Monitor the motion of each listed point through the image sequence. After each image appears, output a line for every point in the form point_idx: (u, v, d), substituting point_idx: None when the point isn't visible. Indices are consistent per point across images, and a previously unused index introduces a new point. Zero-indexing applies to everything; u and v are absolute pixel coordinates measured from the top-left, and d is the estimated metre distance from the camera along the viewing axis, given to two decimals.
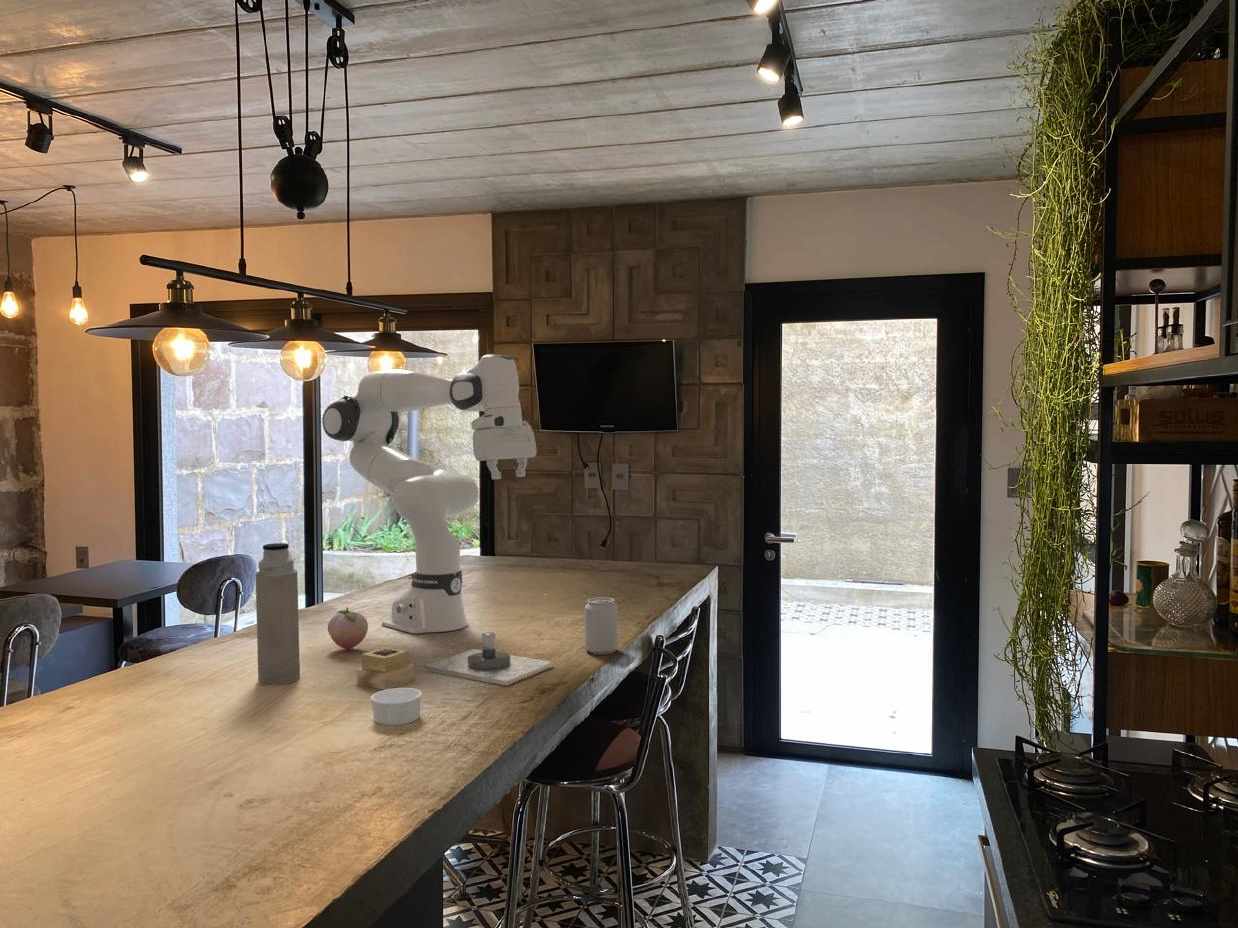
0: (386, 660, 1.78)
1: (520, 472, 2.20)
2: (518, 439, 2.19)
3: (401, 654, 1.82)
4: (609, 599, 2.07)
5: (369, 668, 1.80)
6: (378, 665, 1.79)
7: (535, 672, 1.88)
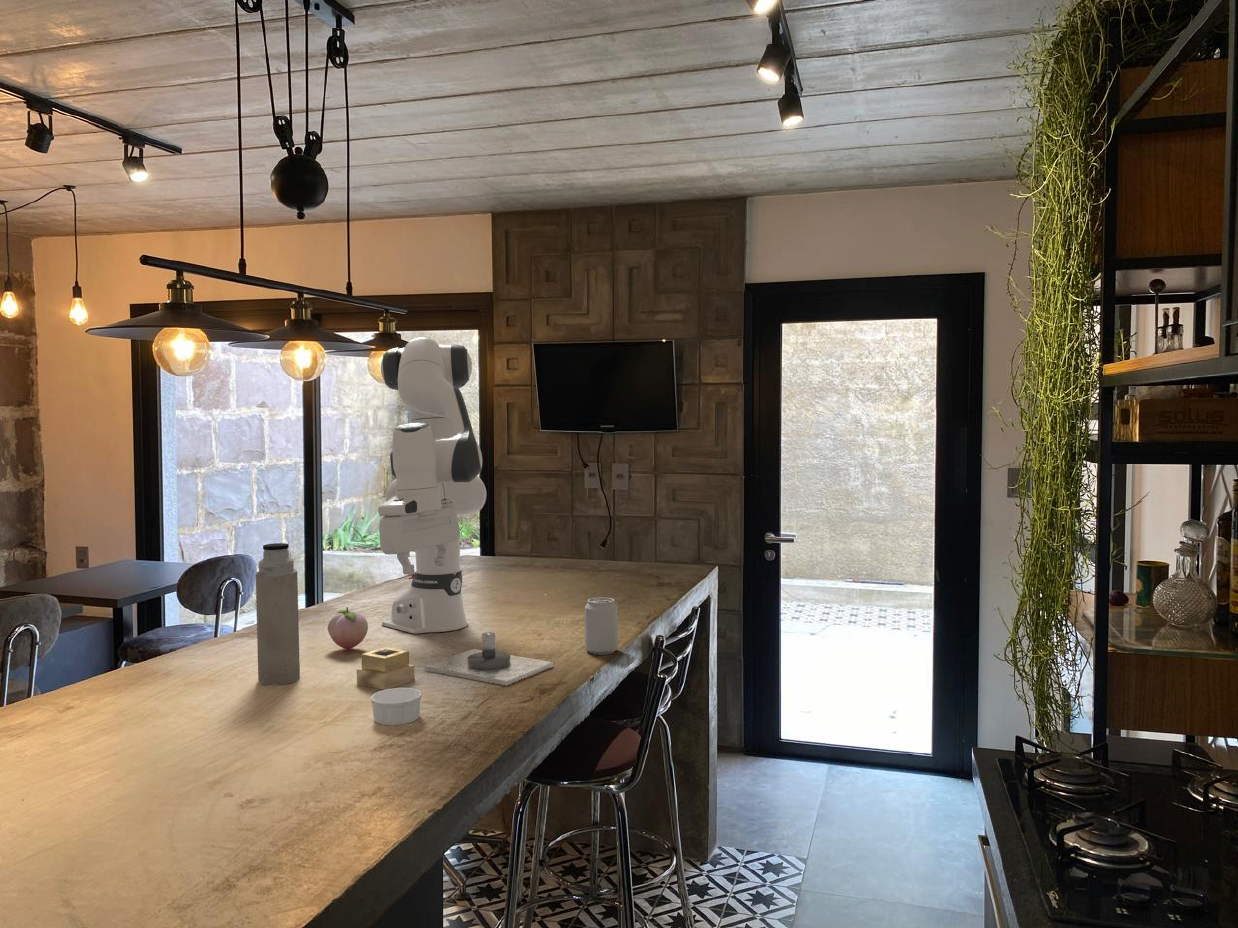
0: (386, 660, 1.78)
1: (439, 561, 1.87)
2: (437, 523, 1.85)
3: (401, 654, 1.82)
4: (609, 599, 2.07)
5: (369, 668, 1.80)
6: (378, 665, 1.79)
7: (535, 672, 1.88)
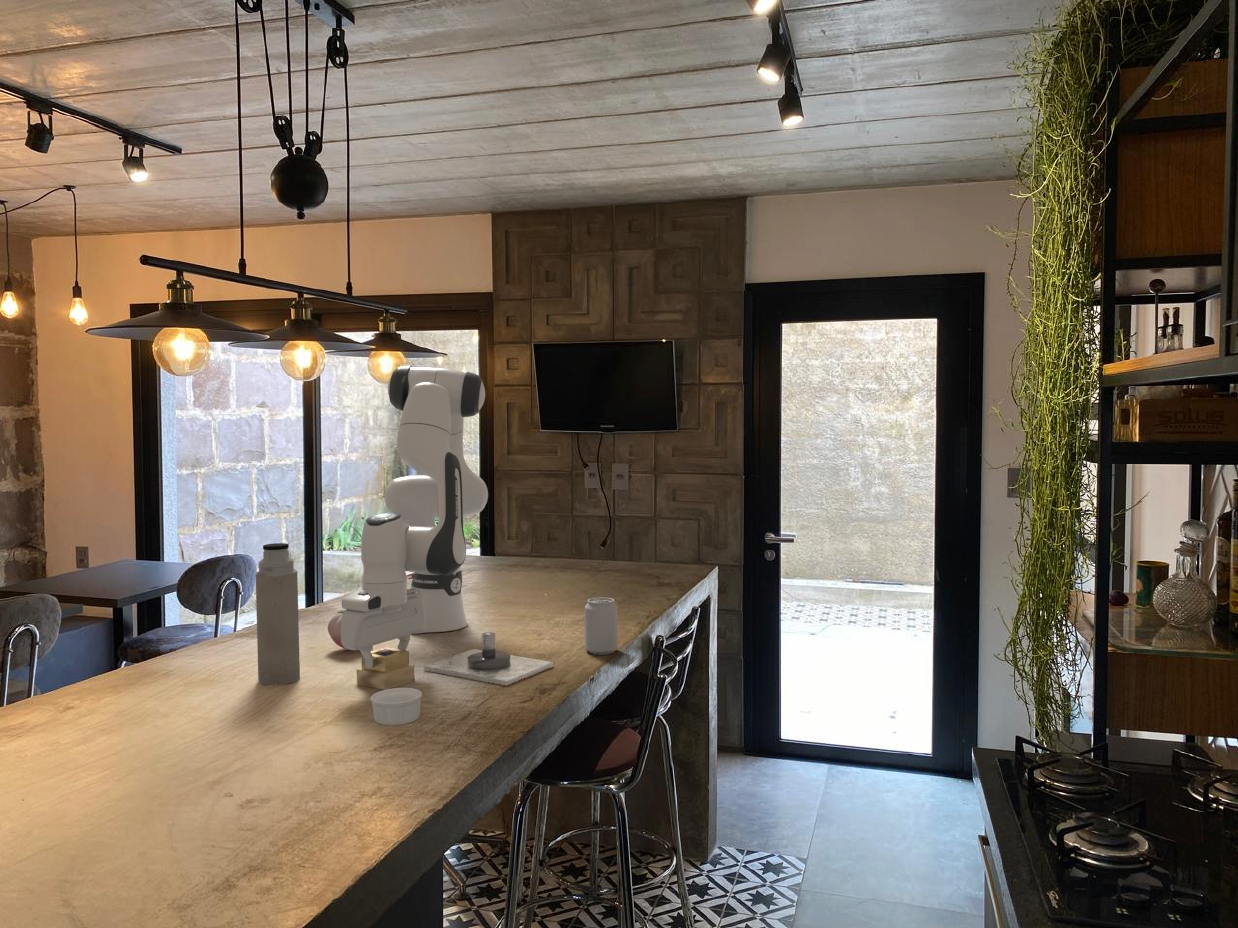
0: (386, 660, 1.78)
1: None
2: (402, 615, 1.84)
3: (401, 654, 1.82)
4: (609, 599, 2.07)
5: (369, 668, 1.80)
6: (378, 665, 1.79)
7: (535, 672, 1.88)
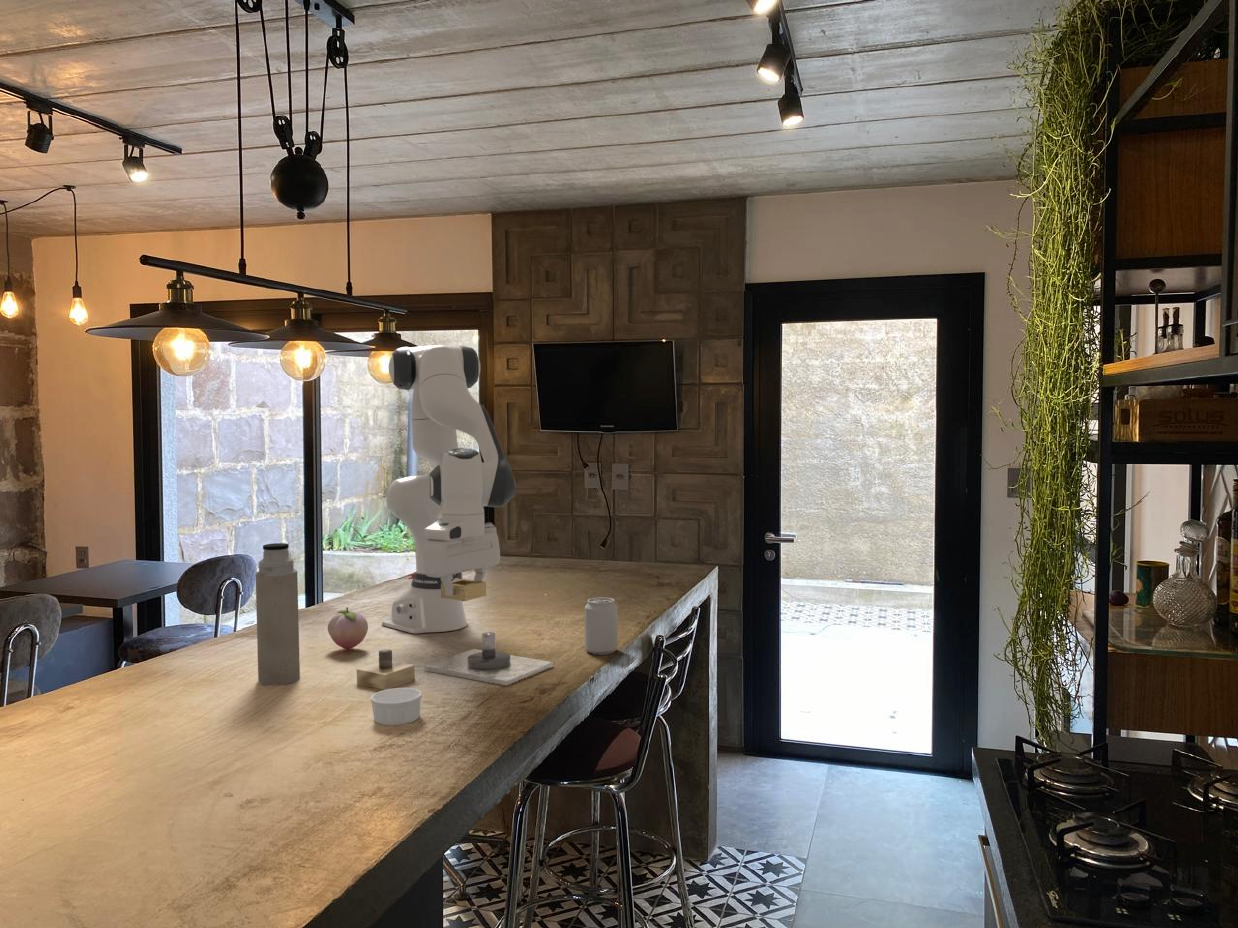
0: (465, 588, 1.84)
1: None
2: (479, 547, 1.90)
3: (479, 584, 1.88)
4: (609, 599, 2.07)
5: (448, 597, 1.87)
6: (457, 593, 1.85)
7: (535, 672, 1.88)
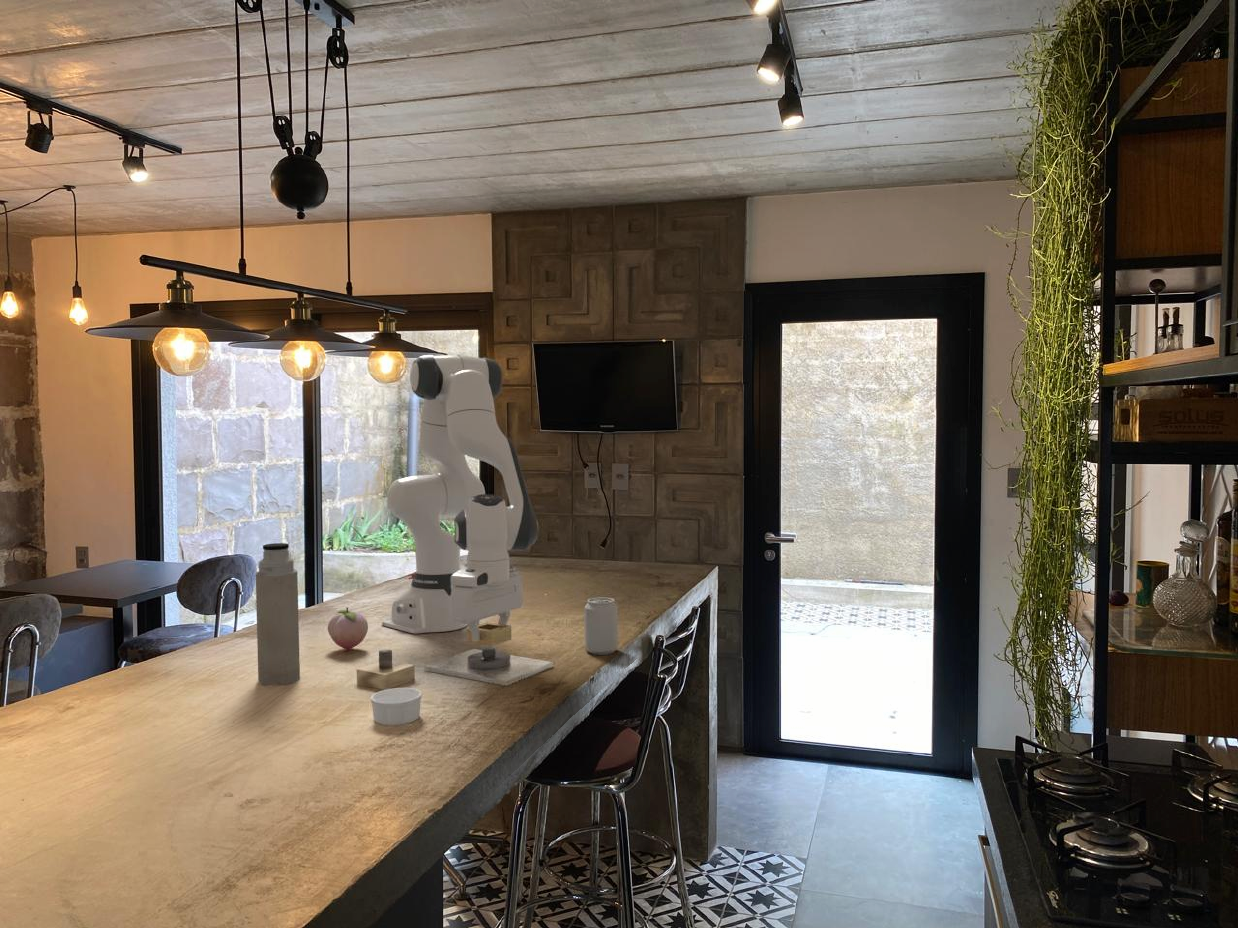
0: (492, 633, 1.87)
1: None
2: (504, 591, 1.93)
3: (504, 628, 1.91)
4: (609, 599, 2.07)
5: (475, 641, 1.89)
6: (484, 638, 1.88)
7: (535, 672, 1.88)
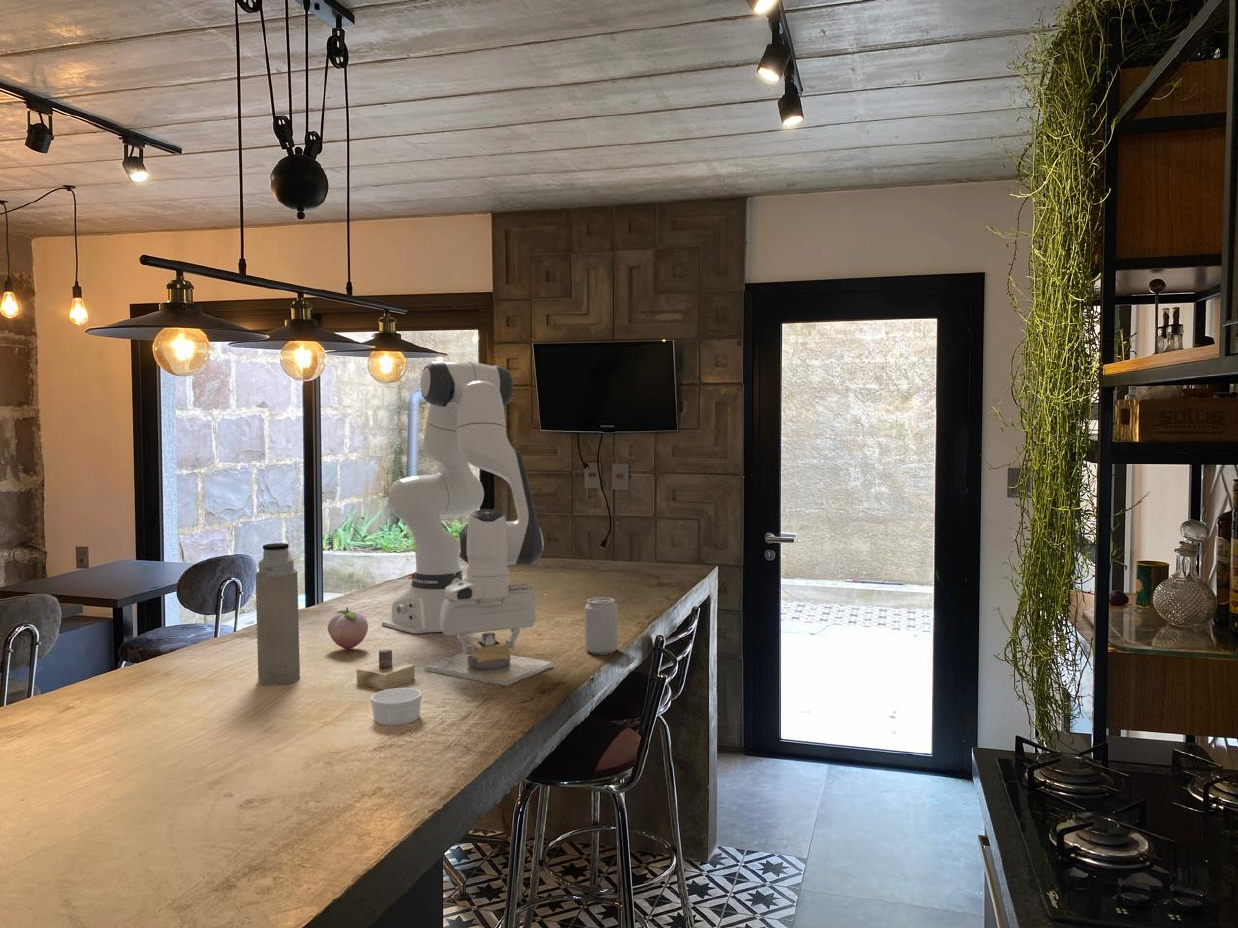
0: (479, 650, 1.87)
1: None
2: (505, 608, 1.91)
3: (498, 647, 1.89)
4: (609, 599, 2.07)
5: (472, 655, 1.91)
6: (475, 654, 1.89)
7: (535, 672, 1.88)
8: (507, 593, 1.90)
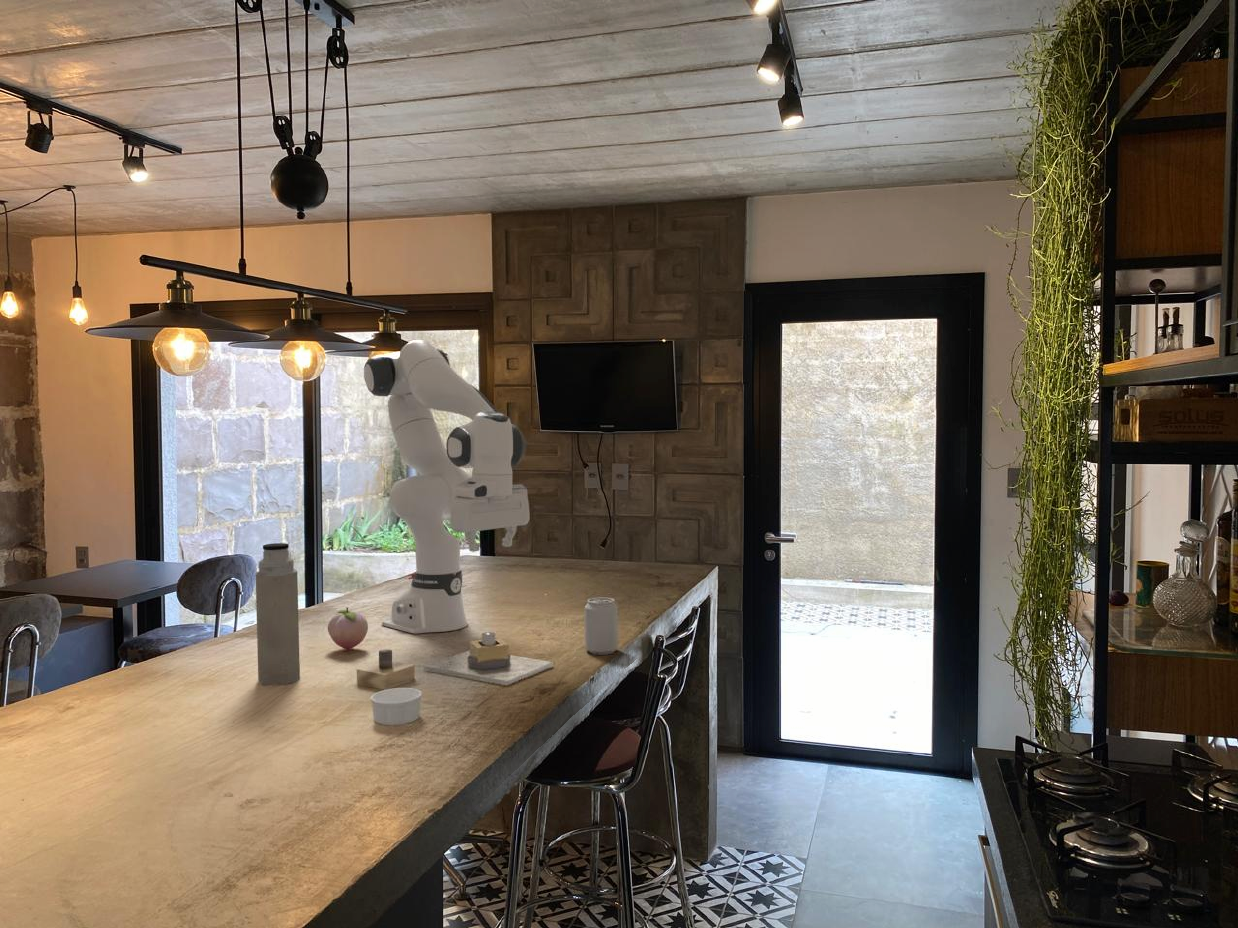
0: (479, 650, 1.87)
1: (506, 542, 2.01)
2: (507, 507, 1.99)
3: (498, 647, 1.89)
4: (609, 599, 2.07)
5: (472, 655, 1.91)
6: (475, 654, 1.89)
7: (535, 672, 1.88)
8: None
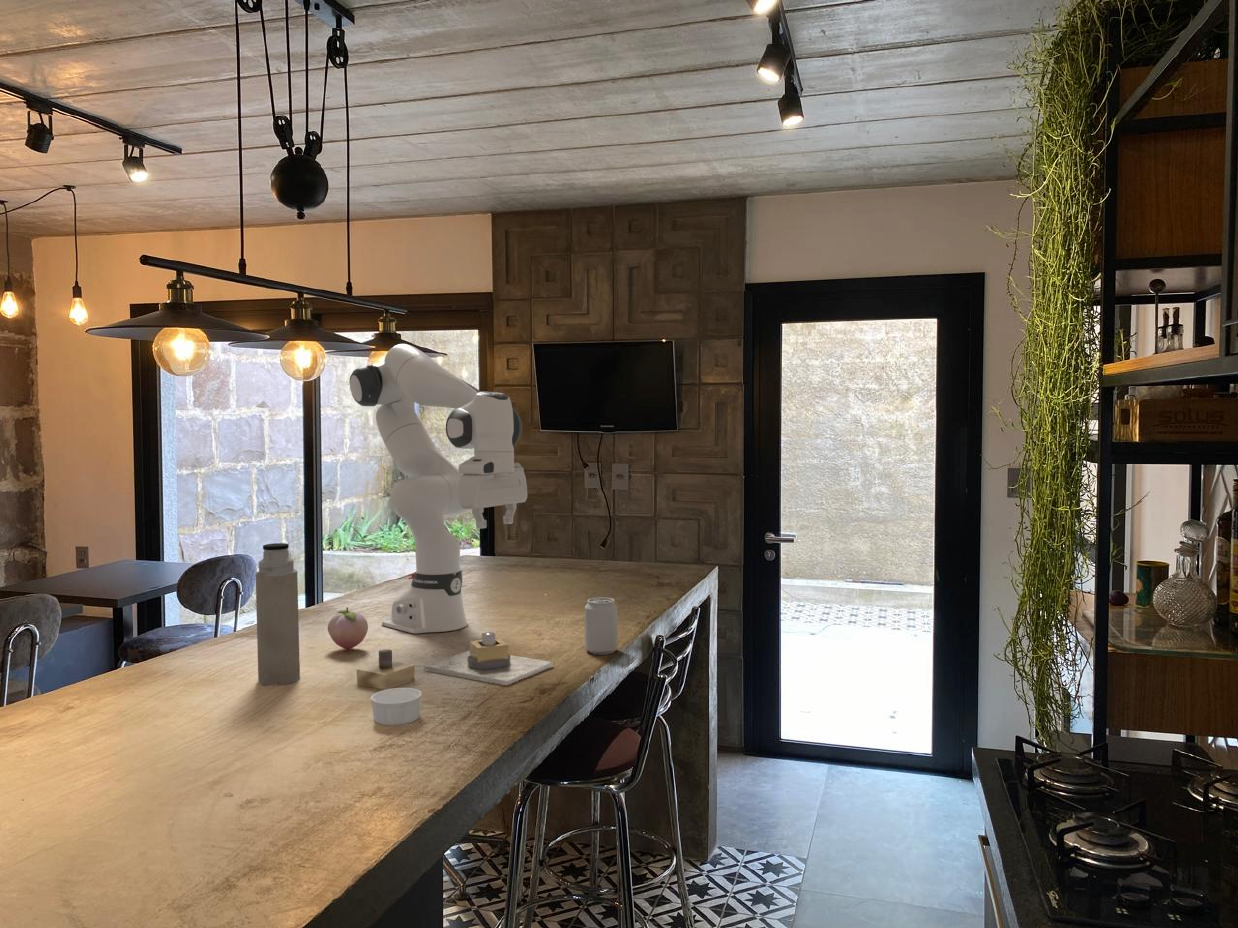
0: (479, 650, 1.87)
1: (508, 519, 2.05)
2: (509, 484, 2.03)
3: (498, 647, 1.89)
4: (609, 599, 2.07)
5: (472, 655, 1.91)
6: (475, 654, 1.89)
7: (535, 672, 1.88)
8: None
